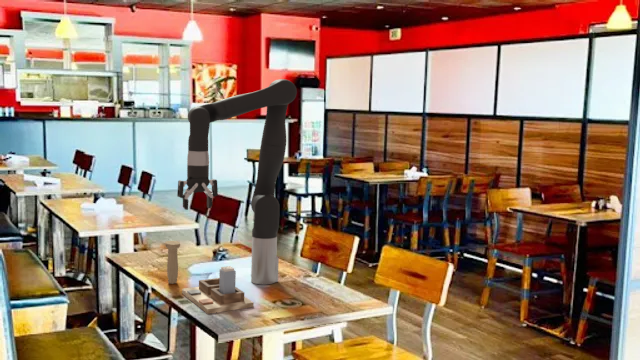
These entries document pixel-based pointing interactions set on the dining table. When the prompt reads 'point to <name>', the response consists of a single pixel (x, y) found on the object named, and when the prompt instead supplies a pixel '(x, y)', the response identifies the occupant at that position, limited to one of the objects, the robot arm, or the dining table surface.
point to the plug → (227, 280)
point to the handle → (172, 261)
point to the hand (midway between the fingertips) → (197, 208)
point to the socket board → (216, 297)
